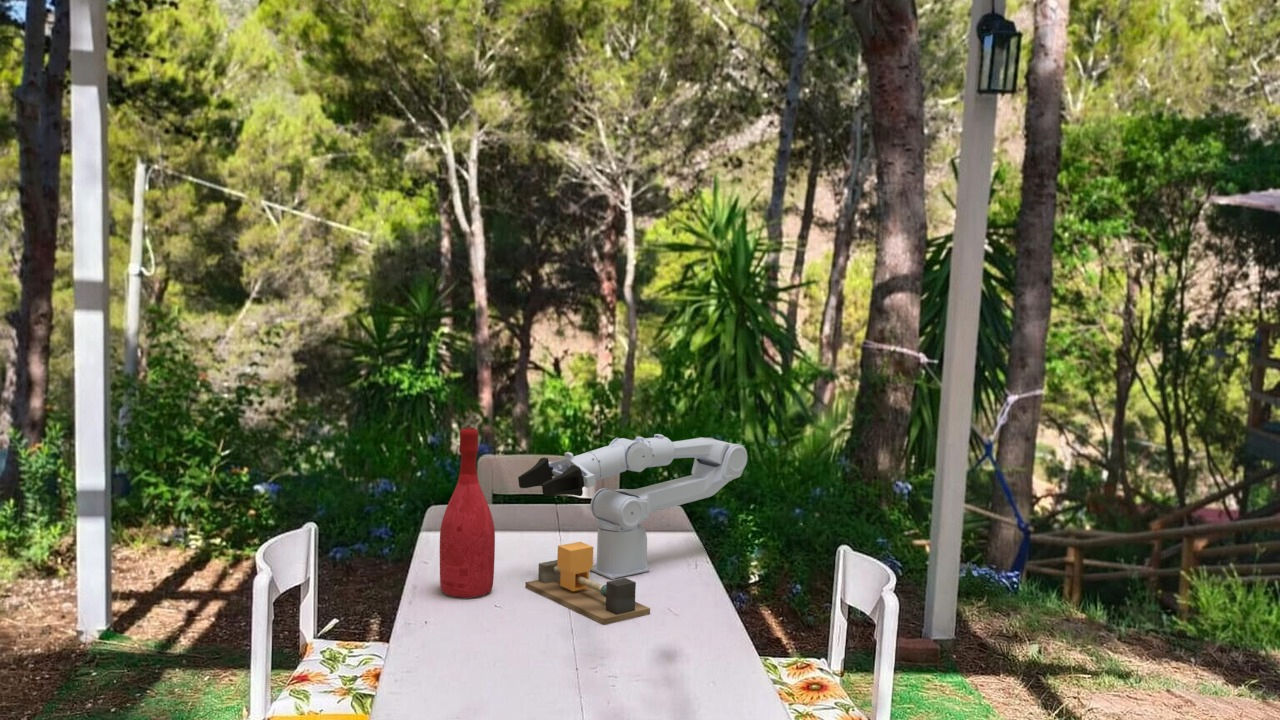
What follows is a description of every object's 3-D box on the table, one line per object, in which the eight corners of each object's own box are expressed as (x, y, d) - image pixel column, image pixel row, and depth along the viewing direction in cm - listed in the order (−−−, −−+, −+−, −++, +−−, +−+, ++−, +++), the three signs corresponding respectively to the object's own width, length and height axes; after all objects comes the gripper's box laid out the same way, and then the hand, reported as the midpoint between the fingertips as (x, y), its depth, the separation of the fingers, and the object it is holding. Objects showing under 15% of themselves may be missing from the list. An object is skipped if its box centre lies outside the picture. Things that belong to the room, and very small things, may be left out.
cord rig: (525, 587, 206) (526, 555, 205) (569, 578, 212) (570, 547, 211) (603, 624, 187) (604, 590, 187) (650, 613, 194) (651, 580, 193)
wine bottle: (503, 587, 206) (506, 426, 202) (478, 603, 196) (481, 434, 193) (455, 580, 209) (457, 421, 206) (429, 595, 200) (430, 429, 196)
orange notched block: (556, 586, 202) (557, 545, 201) (579, 581, 205) (580, 541, 205) (569, 592, 199) (570, 550, 198) (592, 587, 202) (593, 546, 201)
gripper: (566, 440, 216) (507, 458, 208) (612, 452, 205) (551, 472, 197) (570, 475, 217) (511, 494, 209) (616, 489, 206) (556, 510, 198)
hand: (531, 486), depth 203 cm, fingers open, 7 cm apart
